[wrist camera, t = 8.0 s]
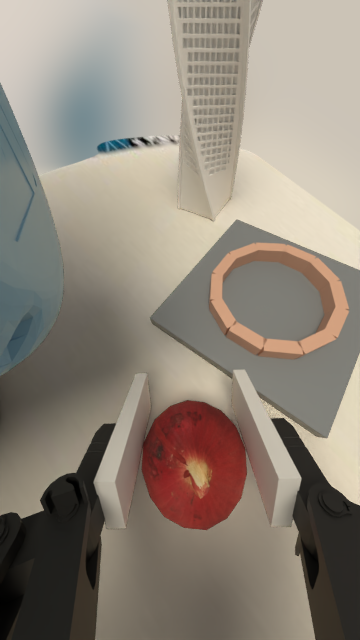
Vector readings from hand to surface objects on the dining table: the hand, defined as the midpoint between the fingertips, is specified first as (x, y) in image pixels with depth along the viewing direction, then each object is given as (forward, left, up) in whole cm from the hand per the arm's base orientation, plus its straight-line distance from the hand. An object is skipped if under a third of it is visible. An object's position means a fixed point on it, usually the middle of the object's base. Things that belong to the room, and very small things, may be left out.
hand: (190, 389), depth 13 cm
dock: (+11, -1, -3) cm, 12 cm away
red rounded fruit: (-3, -2, -4) cm, 5 cm away
